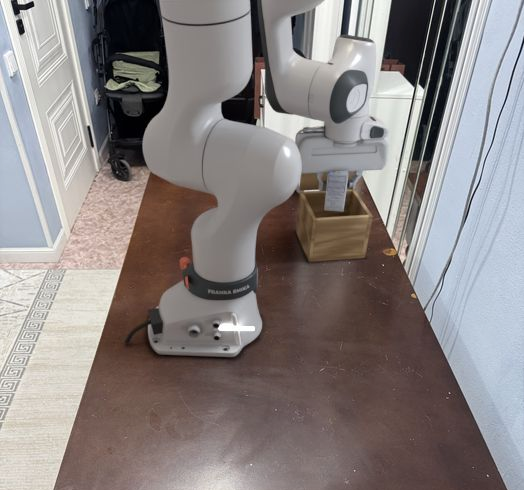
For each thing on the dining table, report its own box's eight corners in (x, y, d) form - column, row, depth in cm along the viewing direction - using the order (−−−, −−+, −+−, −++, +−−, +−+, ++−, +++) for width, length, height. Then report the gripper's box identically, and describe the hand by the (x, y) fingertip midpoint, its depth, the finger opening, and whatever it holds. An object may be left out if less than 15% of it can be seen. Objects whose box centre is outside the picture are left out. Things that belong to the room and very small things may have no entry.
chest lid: (368, 129, 108) (361, 118, 111) (307, 131, 106) (302, 120, 109) (355, 187, 120) (349, 176, 123) (299, 190, 118) (295, 178, 121)
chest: (364, 257, 118) (372, 216, 110) (308, 262, 116) (312, 219, 108) (348, 228, 128) (354, 188, 120) (296, 232, 126) (299, 191, 118)
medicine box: (343, 213, 111) (348, 175, 105) (323, 210, 112) (327, 173, 106) (345, 197, 117) (350, 161, 111) (326, 195, 117) (330, 159, 111)
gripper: (299, 133, 99) (294, 197, 108) (396, 129, 101) (383, 193, 111) (293, 122, 103) (289, 185, 113) (386, 118, 106) (374, 180, 115)
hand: (336, 189), depth 112 cm, fingers closed on medicine box, 5 cm apart
